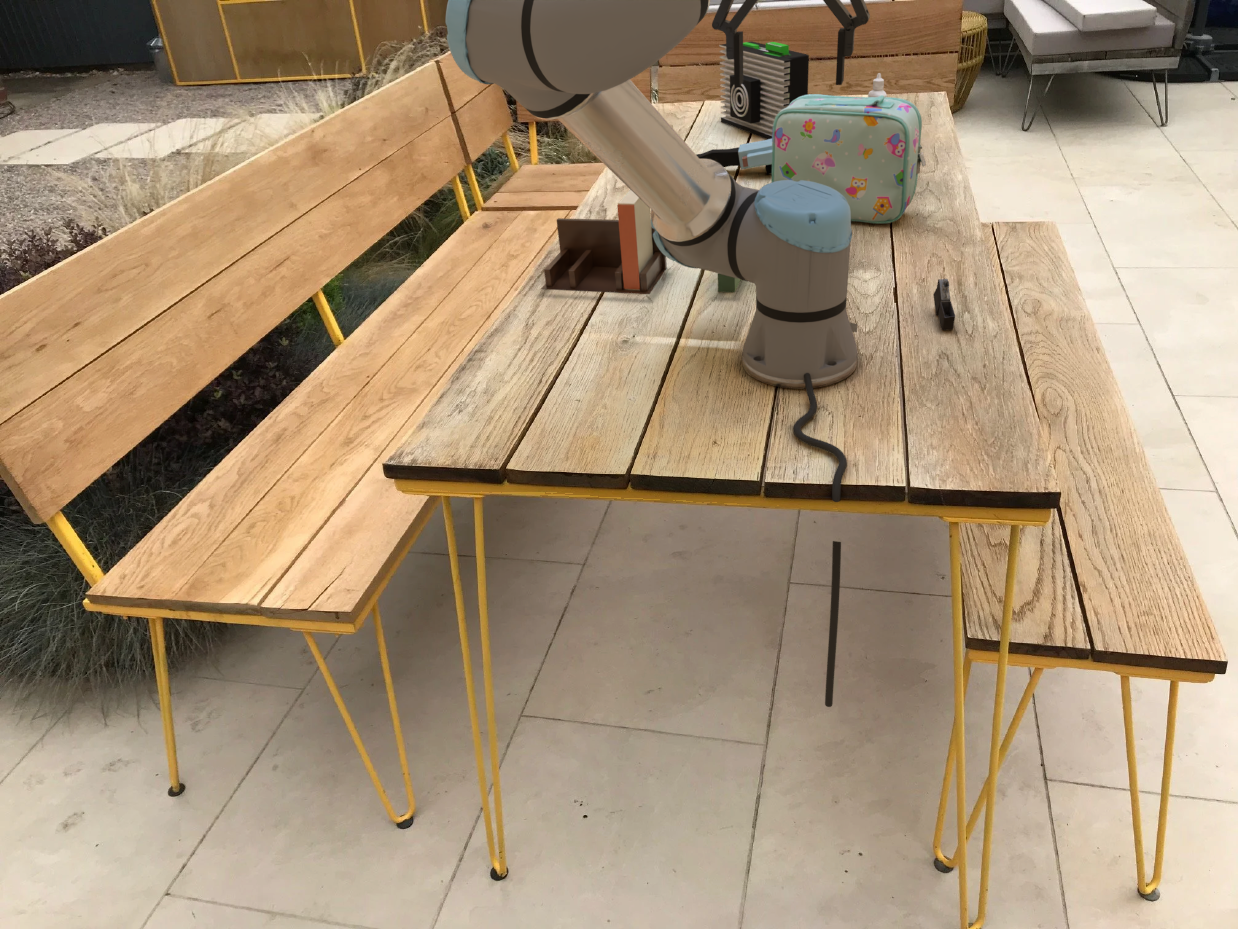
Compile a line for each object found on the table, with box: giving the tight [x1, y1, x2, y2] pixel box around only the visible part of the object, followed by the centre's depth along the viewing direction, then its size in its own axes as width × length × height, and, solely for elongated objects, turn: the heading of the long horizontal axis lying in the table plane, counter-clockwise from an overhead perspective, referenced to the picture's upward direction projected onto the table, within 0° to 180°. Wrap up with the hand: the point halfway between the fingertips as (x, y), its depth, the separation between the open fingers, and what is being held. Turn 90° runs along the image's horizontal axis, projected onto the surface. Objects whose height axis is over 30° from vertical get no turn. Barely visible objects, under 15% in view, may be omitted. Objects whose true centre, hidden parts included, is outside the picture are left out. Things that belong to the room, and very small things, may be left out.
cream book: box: [616, 189, 653, 290], centre depth 151 cm, size 9×3×14 cm, turn 163°
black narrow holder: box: [932, 278, 956, 331], centre depth 135 cm, size 8×2×5 cm
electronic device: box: [718, 40, 810, 140], centre depth 224 cm, size 28×11×20 cm, turn 25°
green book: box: [717, 273, 742, 293], centre depth 148 cm, size 9×3×14 cm, turn 163°
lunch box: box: [771, 93, 927, 224], centre depth 170 cm, size 27×10×21 cm, turn 59°
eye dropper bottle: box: [867, 72, 888, 97], centre depth 220 cm, size 4×6×12 cm
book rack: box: [540, 217, 668, 295], centre depth 154 cm, size 11×18×9 cm, turn 73°
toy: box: [696, 139, 772, 175], centre depth 200 cm, size 10×8×30 cm
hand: (788, 83), depth 129 cm, fingers open, 13 cm apart
